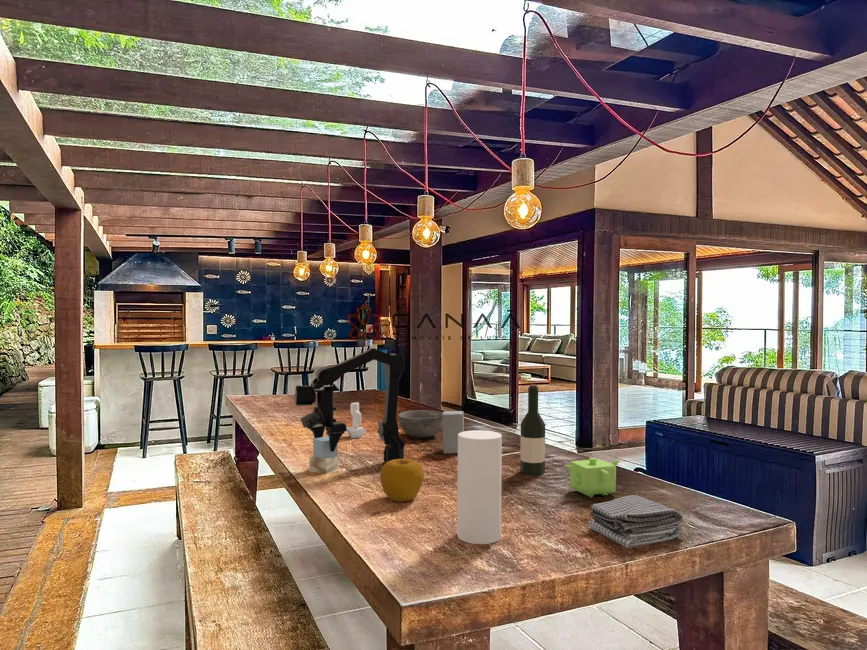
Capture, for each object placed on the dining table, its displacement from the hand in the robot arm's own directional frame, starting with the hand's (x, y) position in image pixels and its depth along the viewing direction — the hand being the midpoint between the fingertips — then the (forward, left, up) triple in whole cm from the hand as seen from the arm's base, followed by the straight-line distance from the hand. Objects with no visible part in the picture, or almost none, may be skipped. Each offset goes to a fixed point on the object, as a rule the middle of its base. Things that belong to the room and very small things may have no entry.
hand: (325, 449), depth 205 cm
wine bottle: (-63, -34, -7) cm, 72 cm away
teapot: (-87, -21, -8) cm, 90 cm away
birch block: (0, 0, -7) cm, 7 cm away
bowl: (0, -65, -8) cm, 65 cm away
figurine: (+24, -49, -7) cm, 55 cm away
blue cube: (0, 0, -2) cm, 2 cm away
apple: (-40, +13, -7) cm, 43 cm away
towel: (-104, +6, -8) cm, 105 cm away
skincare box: (-26, -46, -7) cm, 53 cm away
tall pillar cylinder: (-72, +28, -7) cm, 78 cm away
